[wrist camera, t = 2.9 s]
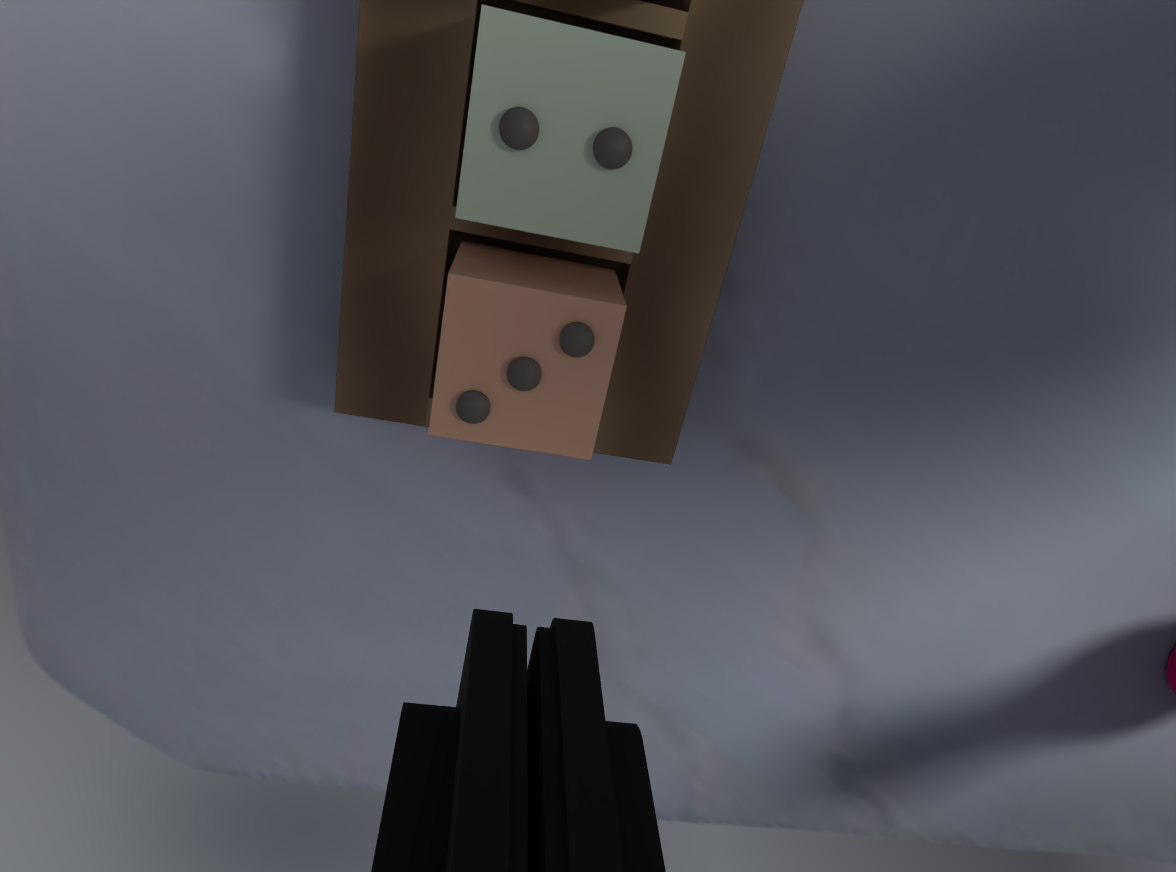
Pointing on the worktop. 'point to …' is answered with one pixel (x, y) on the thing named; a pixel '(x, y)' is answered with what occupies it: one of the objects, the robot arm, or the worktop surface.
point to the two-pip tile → (565, 129)
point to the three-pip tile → (525, 351)
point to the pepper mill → (1172, 670)
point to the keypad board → (433, 235)
